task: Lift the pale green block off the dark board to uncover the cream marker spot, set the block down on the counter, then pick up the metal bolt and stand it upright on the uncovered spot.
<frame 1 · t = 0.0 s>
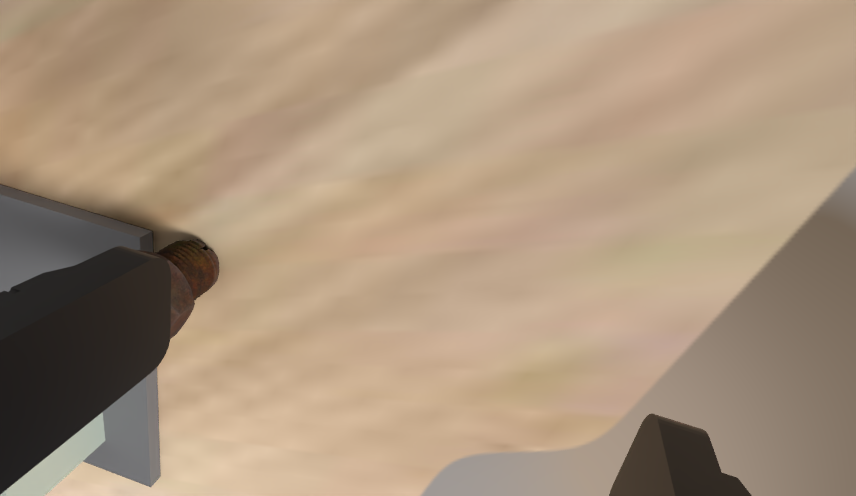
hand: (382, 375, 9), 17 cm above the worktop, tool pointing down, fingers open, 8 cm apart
pale green block: (45, 387, 37), point 1 cm above the worktop, touching layout board
layout board: (64, 336, 36), on the worktop
bolt: (201, 259, 31), on the worktop
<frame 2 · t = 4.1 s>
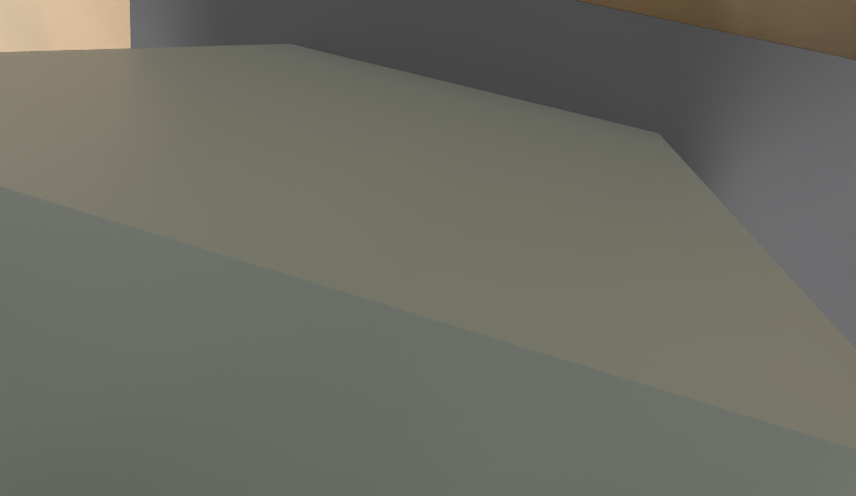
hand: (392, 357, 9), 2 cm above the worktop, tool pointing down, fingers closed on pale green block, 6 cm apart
pale green block: (411, 326, 10), point 1 cm above the worktop, touching gripper, layout board
layout board: (600, 401, 11), on the worktop
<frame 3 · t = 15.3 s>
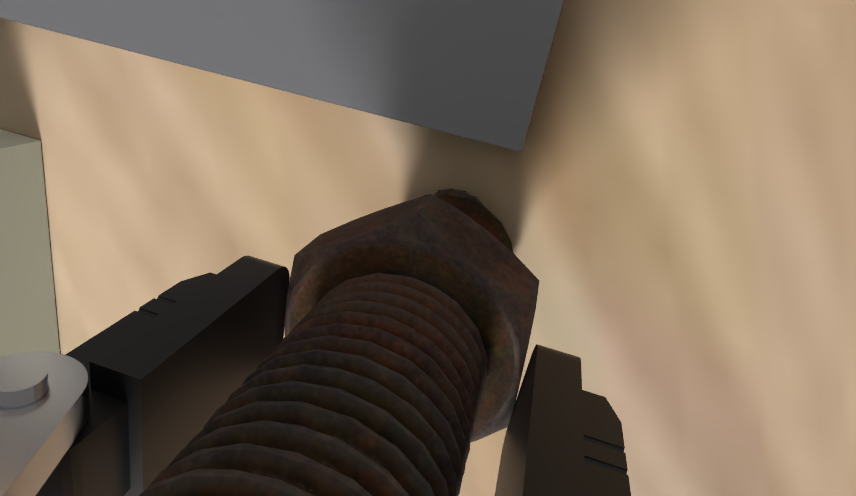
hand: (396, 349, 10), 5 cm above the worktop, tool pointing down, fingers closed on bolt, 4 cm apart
bolt: (457, 241, 15), on the worktop, touching gripper
when the fingers open (8 cm above the worktop, at t = 21.6 s): bolt drops 1 cm, resting on layout board.
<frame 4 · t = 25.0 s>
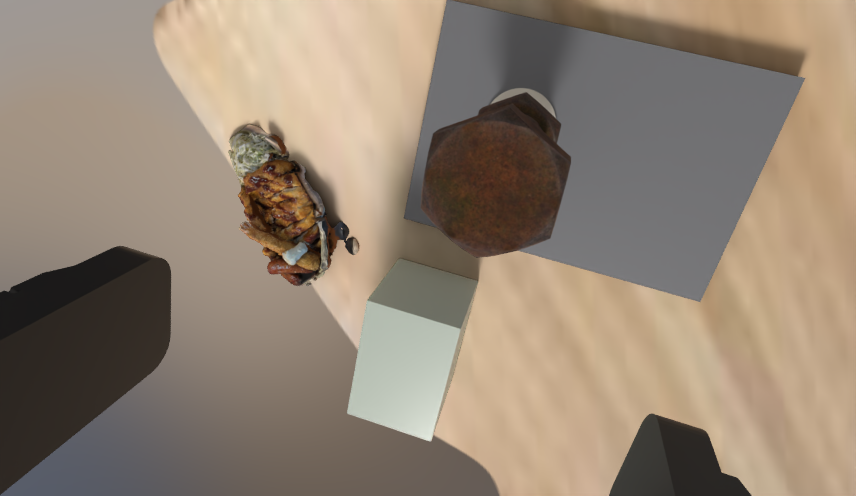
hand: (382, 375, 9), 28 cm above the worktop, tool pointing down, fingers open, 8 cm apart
pale green block: (426, 321, 41), on the worktop
pastry: (286, 203, 41), on the worktop
layout board: (578, 153, 34), on the worktop
bolt: (521, 127, 33), point 1 cm above the worktop, touching layout board
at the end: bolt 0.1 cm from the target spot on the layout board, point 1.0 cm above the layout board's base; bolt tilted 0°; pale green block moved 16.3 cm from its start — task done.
